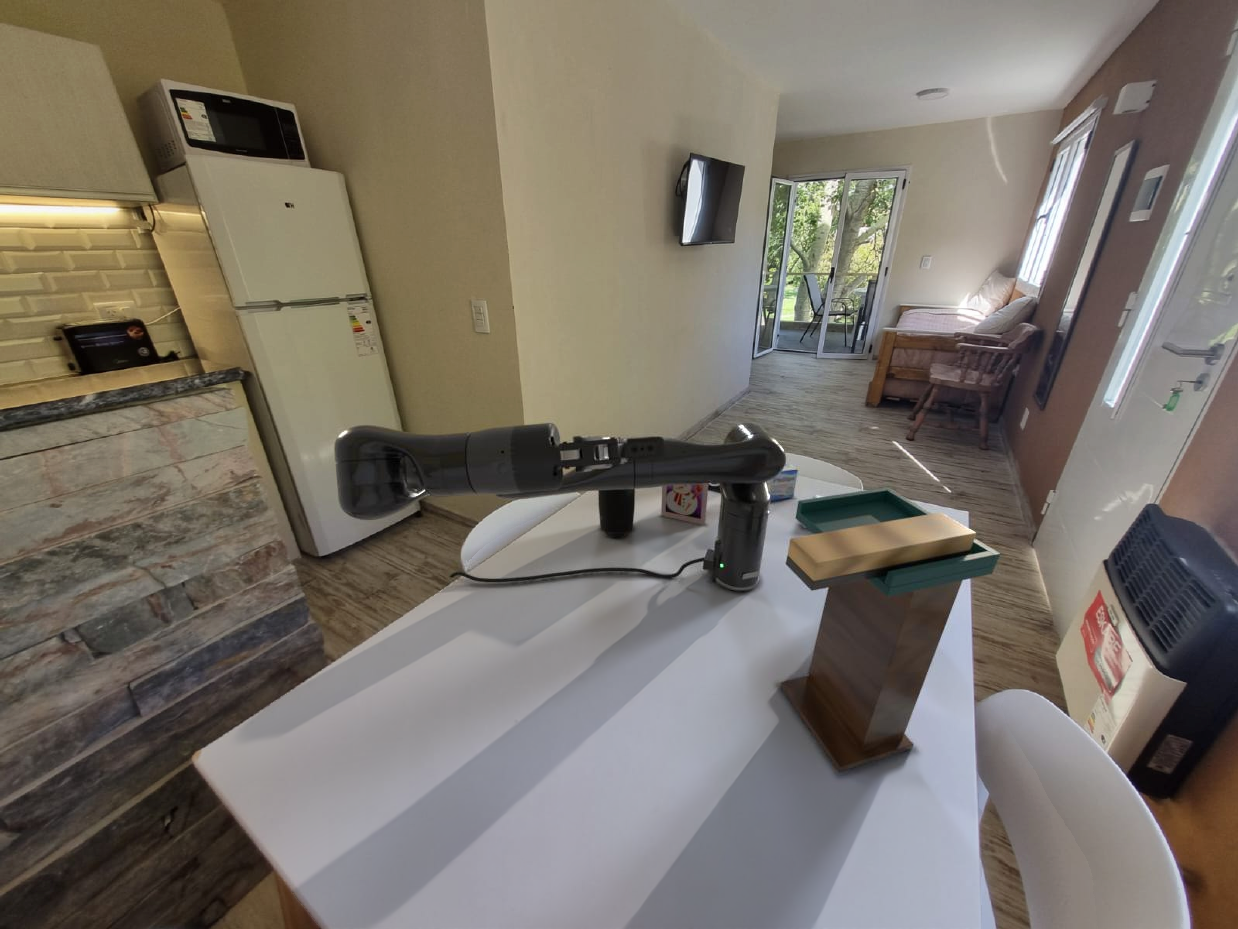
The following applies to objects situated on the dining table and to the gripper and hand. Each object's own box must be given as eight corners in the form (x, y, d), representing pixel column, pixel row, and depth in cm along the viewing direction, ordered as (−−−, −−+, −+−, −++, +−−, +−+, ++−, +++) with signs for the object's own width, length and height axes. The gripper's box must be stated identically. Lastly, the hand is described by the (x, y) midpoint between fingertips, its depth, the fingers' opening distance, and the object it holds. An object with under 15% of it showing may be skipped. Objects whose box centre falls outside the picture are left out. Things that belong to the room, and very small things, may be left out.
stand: (838, 772, 63) (895, 587, 50) (779, 686, 76) (812, 520, 63) (912, 749, 66) (983, 568, 53) (843, 670, 79) (888, 507, 66)
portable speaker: (601, 541, 112) (599, 466, 104) (597, 520, 121) (595, 449, 112) (637, 538, 113) (638, 463, 105) (631, 518, 122) (631, 447, 113)
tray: (887, 597, 49) (893, 575, 48) (795, 518, 63) (798, 500, 62) (992, 574, 52) (1000, 553, 51) (882, 504, 66) (887, 486, 65)
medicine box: (768, 501, 129) (772, 472, 126) (759, 494, 133) (763, 466, 130) (793, 497, 131) (798, 469, 128) (784, 490, 135) (789, 462, 132)
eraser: (811, 591, 48) (817, 563, 47) (785, 564, 52) (790, 538, 51) (967, 559, 53) (977, 533, 52) (932, 536, 57) (940, 511, 56)
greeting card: (660, 517, 122) (662, 464, 116) (668, 503, 128) (671, 452, 122) (703, 526, 118) (708, 472, 112) (710, 512, 124) (715, 459, 118)
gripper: (495, 422, 46) (663, 407, 46) (527, 428, 61) (655, 417, 60) (503, 499, 47) (669, 485, 46) (532, 487, 61) (660, 476, 60)
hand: (661, 447), depth 53 cm, fingers open, 8 cm apart
